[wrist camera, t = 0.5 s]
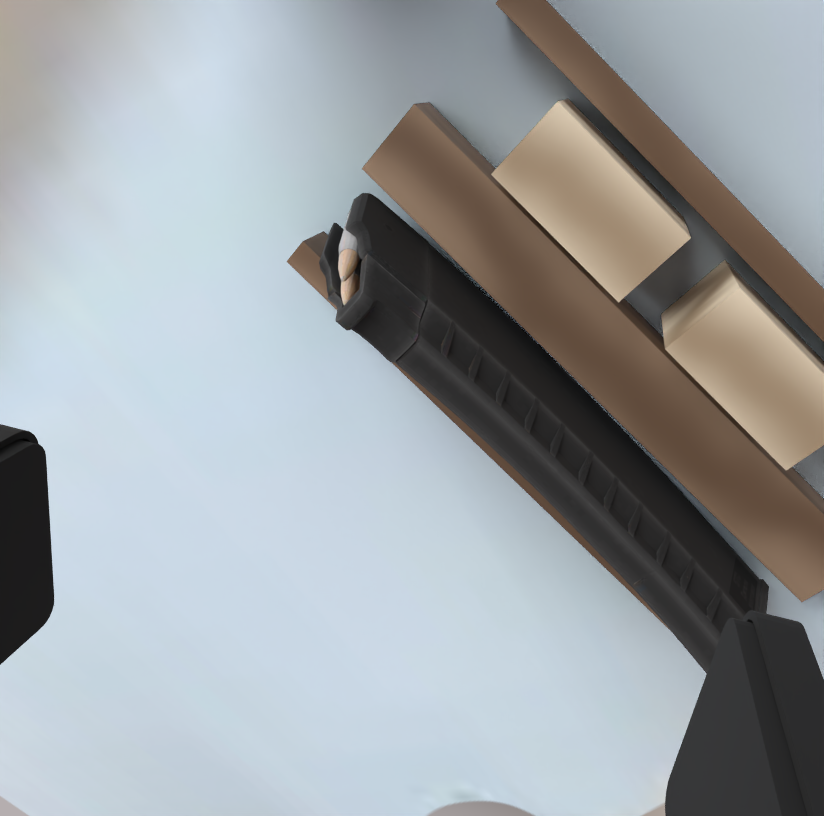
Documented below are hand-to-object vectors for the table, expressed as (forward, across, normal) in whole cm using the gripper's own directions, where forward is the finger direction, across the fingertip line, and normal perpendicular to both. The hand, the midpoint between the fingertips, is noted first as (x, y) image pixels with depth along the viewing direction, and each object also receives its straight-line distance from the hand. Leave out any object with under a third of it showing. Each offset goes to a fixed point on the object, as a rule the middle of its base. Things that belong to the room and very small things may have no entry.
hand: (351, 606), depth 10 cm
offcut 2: (+33, -11, +3) cm, 35 cm away
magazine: (+33, -2, +9) cm, 34 cm away
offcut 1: (+32, -2, -3) cm, 33 cm away
